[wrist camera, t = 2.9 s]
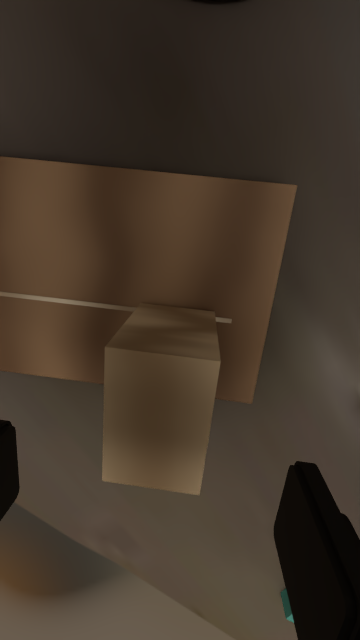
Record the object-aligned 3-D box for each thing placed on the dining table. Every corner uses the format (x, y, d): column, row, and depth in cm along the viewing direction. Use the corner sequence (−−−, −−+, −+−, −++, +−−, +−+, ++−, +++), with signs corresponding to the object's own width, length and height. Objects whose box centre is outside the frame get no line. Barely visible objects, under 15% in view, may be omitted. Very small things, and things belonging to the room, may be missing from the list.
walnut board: (283, 191, 16) (297, 185, 14) (246, 382, 20) (252, 404, 17) (-224, 141, 17) (-294, 127, 15) (-168, 329, 21) (-216, 342, 19)
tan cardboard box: (221, 302, 18) (235, 363, 10) (206, 401, 20) (208, 515, 12) (140, 292, 18) (90, 345, 10) (134, 391, 20) (90, 497, 12)
